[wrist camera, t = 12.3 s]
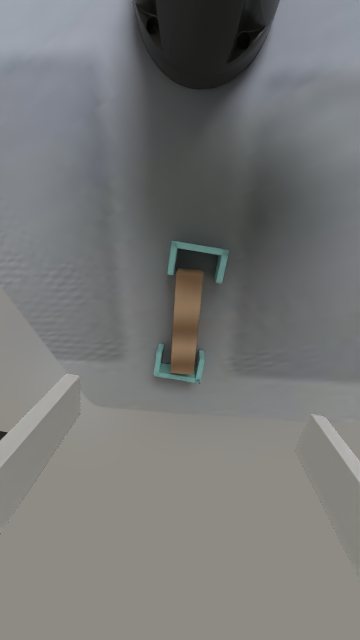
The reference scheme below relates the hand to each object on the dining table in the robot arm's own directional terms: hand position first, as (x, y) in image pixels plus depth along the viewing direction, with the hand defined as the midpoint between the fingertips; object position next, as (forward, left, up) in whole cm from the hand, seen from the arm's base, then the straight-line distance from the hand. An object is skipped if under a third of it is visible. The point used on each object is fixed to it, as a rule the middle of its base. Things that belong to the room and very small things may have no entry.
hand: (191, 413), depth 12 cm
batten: (+2, -1, -23) cm, 23 cm away
